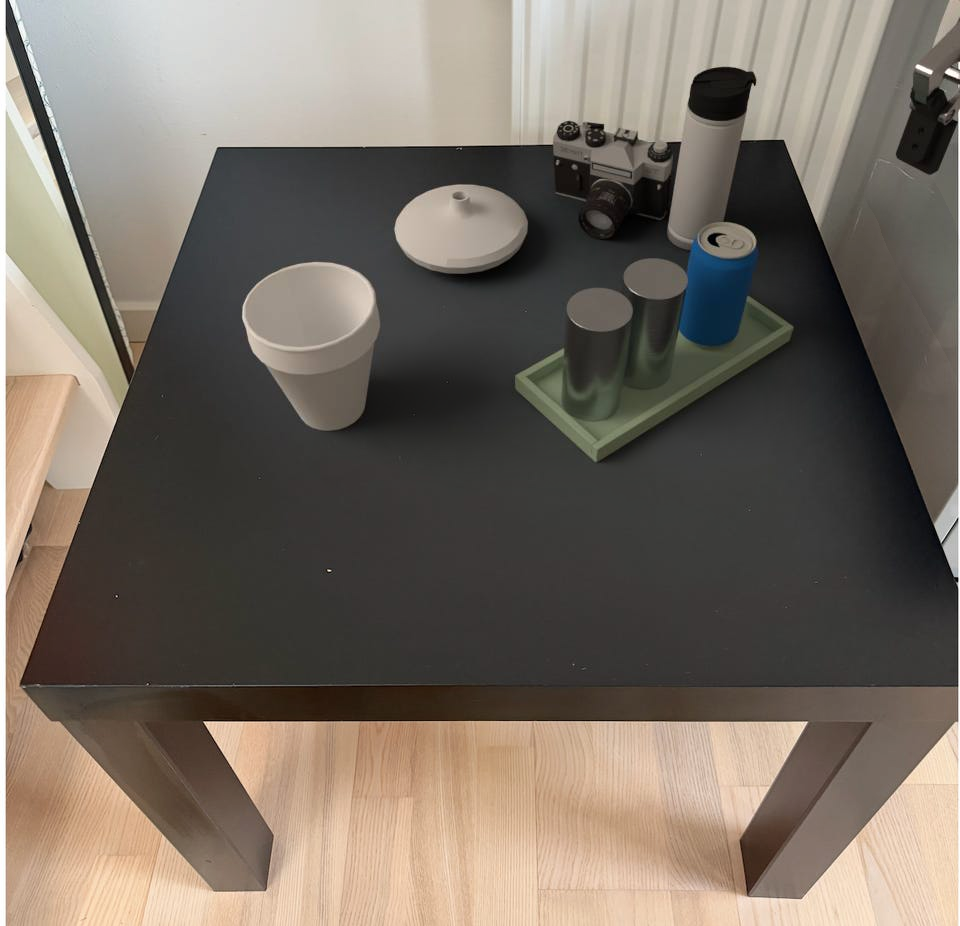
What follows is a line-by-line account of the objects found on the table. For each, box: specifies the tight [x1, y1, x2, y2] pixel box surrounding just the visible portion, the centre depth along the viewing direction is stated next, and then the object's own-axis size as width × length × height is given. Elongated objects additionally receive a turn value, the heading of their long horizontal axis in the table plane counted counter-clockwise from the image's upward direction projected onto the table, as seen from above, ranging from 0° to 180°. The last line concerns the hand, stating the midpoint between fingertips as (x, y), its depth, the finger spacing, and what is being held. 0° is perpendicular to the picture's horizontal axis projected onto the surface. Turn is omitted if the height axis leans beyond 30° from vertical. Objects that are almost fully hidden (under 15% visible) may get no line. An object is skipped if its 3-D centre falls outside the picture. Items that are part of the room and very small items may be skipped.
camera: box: [552, 120, 674, 240], centre depth 109 cm, size 15×11×10 cm
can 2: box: [620, 257, 688, 390], centre depth 90 cm, size 6×6×12 cm
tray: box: [514, 295, 795, 464], centre depth 95 cm, size 13×28×2 cm, turn 127°
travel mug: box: [666, 66, 757, 252], centre depth 101 cm, size 6×7×20 cm
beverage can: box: [679, 221, 759, 347], centre depth 93 cm, size 6×6×12 cm
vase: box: [393, 184, 529, 275], centre depth 106 cm, size 16×16×7 cm
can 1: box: [561, 287, 633, 421], centre depth 87 cm, size 6×6×12 cm
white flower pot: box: [241, 261, 381, 432], centre depth 88 cm, size 12×12×14 cm
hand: (957, 141), depth 66 cm, fingers open, 9 cm apart
